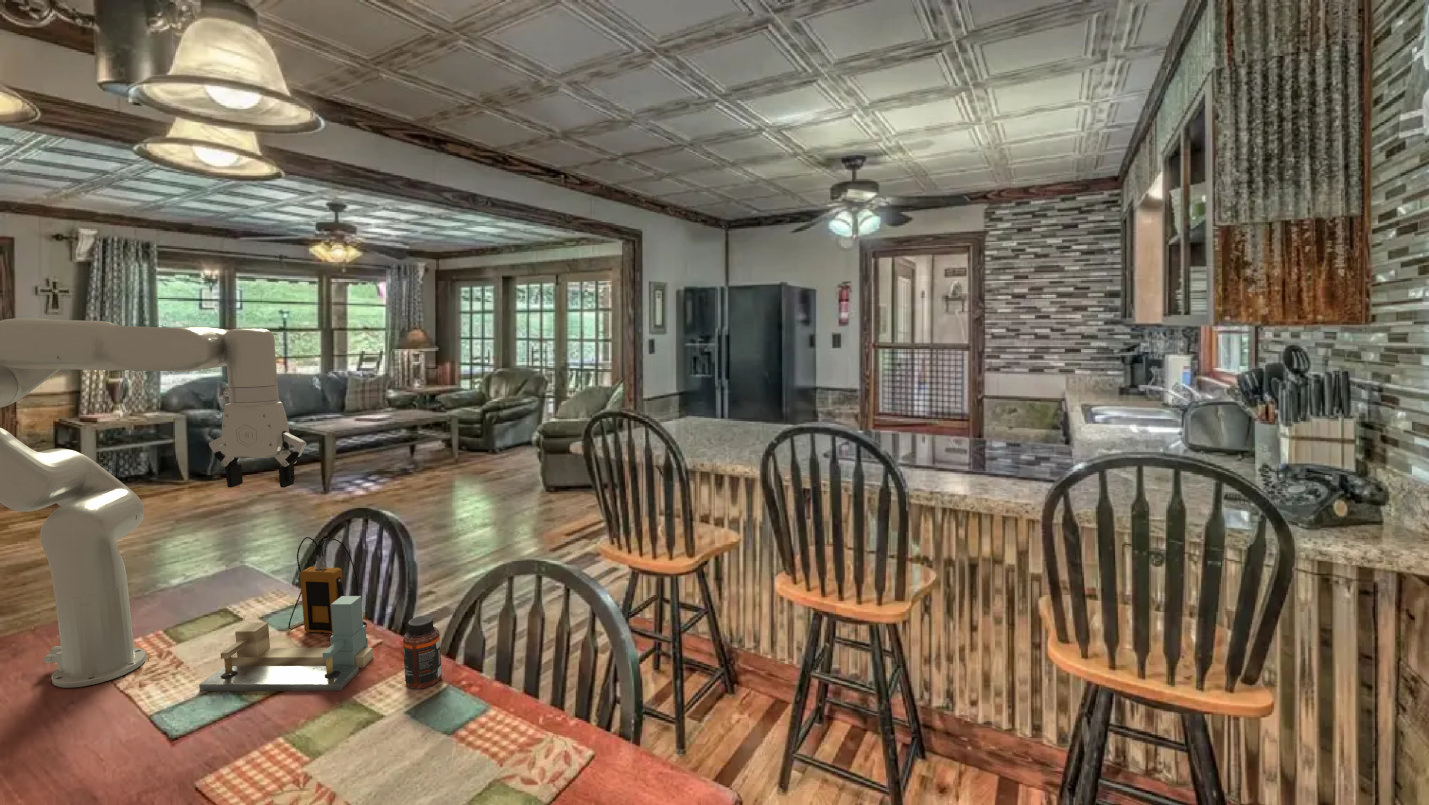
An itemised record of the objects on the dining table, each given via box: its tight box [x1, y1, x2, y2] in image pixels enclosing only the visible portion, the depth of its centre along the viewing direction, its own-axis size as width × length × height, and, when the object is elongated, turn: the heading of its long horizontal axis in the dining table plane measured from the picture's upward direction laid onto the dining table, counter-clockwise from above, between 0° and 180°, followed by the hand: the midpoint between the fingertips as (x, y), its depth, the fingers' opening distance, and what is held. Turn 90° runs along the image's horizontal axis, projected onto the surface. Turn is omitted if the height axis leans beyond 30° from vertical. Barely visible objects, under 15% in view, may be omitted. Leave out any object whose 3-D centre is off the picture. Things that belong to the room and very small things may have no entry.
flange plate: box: [198, 665, 360, 692], centre depth 117 cm, size 24×6×1 cm, turn 91°
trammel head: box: [323, 595, 369, 674], centre depth 120 cm, size 4×10×12 cm, turn 1°
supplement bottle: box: [402, 615, 443, 689], centre depth 116 cm, size 6×6×11 cm
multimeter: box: [287, 536, 368, 634], centre depth 138 cm, size 15×10×20 cm
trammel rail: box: [220, 622, 374, 674], centre depth 120 cm, size 24×9×7 cm, turn 91°
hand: (261, 485), depth 125 cm, fingers open, 9 cm apart
